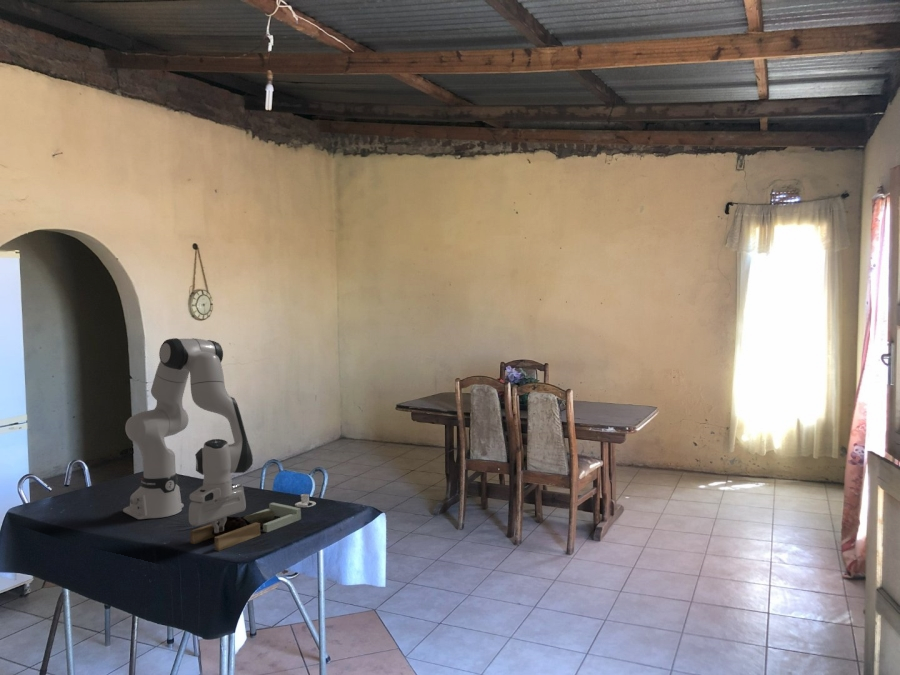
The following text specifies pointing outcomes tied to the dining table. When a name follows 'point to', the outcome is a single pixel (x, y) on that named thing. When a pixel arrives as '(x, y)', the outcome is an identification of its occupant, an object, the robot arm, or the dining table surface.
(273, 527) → the frame
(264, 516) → the dark piece
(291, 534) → the dining table surface
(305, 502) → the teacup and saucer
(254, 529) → the oak channel
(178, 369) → the robot arm
